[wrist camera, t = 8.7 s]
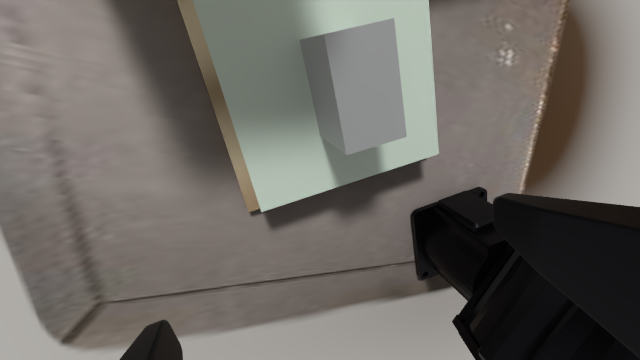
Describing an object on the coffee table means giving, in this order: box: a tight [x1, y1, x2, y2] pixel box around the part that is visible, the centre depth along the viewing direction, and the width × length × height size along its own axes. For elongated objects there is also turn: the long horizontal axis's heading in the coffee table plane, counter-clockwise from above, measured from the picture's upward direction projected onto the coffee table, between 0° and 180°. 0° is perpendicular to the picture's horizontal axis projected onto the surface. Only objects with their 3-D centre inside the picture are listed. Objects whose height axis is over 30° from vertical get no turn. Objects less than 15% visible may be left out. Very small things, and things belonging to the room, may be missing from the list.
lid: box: [193, 0, 439, 212], centre depth 16 cm, size 12×12×6 cm
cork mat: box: [177, 0, 260, 212], centre depth 19 cm, size 13×13×1 cm
